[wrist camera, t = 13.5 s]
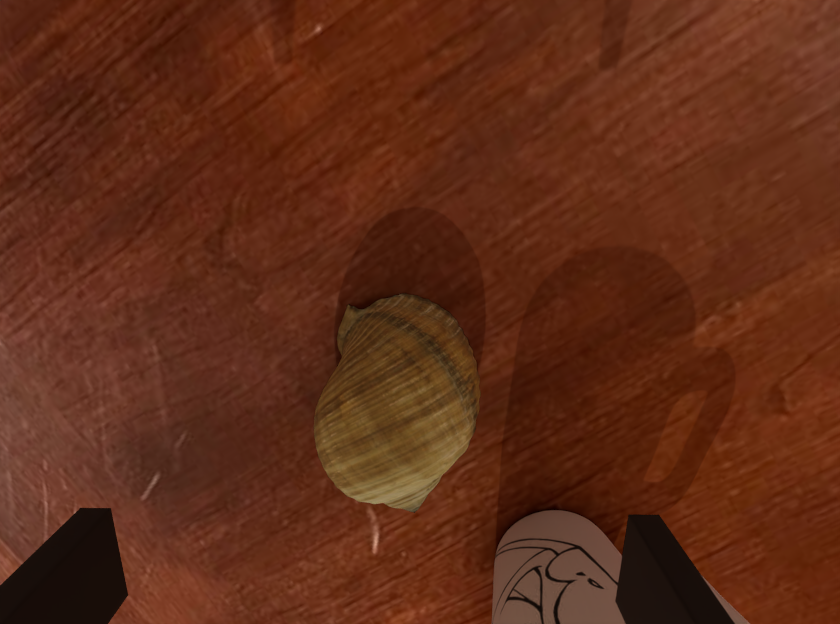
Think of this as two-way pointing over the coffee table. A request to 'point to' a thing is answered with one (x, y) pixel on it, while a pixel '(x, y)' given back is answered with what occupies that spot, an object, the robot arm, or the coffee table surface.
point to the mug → (560, 573)
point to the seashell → (397, 402)
